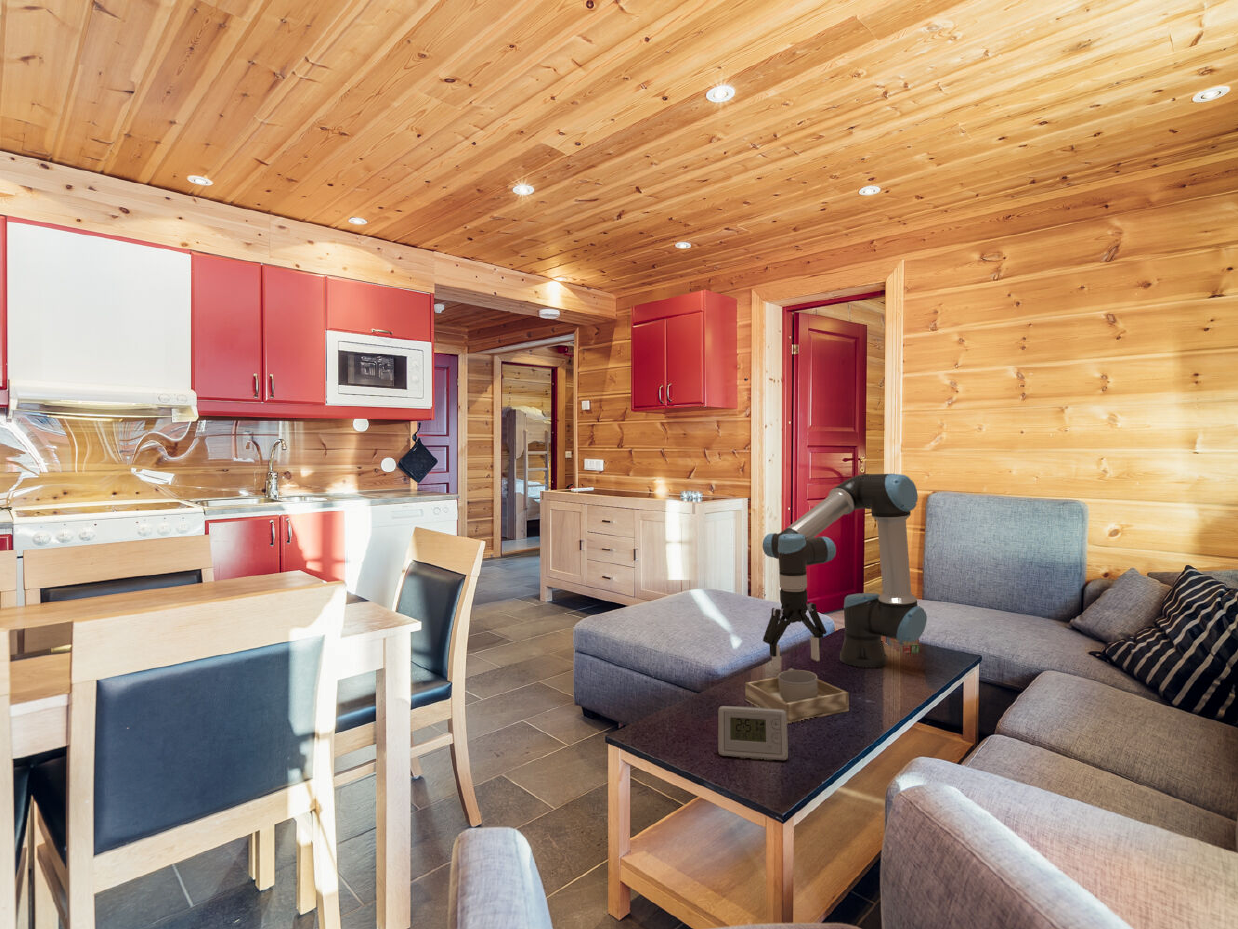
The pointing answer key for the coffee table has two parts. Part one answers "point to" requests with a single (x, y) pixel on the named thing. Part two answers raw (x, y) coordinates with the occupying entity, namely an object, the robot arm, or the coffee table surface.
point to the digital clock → (752, 733)
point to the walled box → (822, 705)
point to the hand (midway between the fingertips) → (796, 663)
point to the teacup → (797, 685)
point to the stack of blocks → (902, 645)
